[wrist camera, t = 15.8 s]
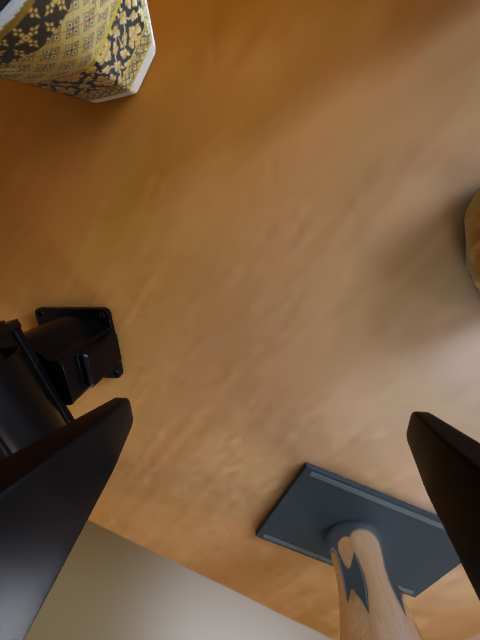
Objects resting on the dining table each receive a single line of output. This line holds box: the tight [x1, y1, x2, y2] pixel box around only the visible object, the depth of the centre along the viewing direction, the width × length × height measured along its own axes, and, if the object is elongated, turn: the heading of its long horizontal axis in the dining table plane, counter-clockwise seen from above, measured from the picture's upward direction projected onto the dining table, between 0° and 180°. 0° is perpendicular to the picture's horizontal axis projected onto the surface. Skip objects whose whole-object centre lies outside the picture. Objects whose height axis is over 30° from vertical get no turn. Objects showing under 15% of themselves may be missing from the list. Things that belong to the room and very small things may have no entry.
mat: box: [256, 463, 461, 597], centre depth 29 cm, size 20×12×1 cm, turn 67°
